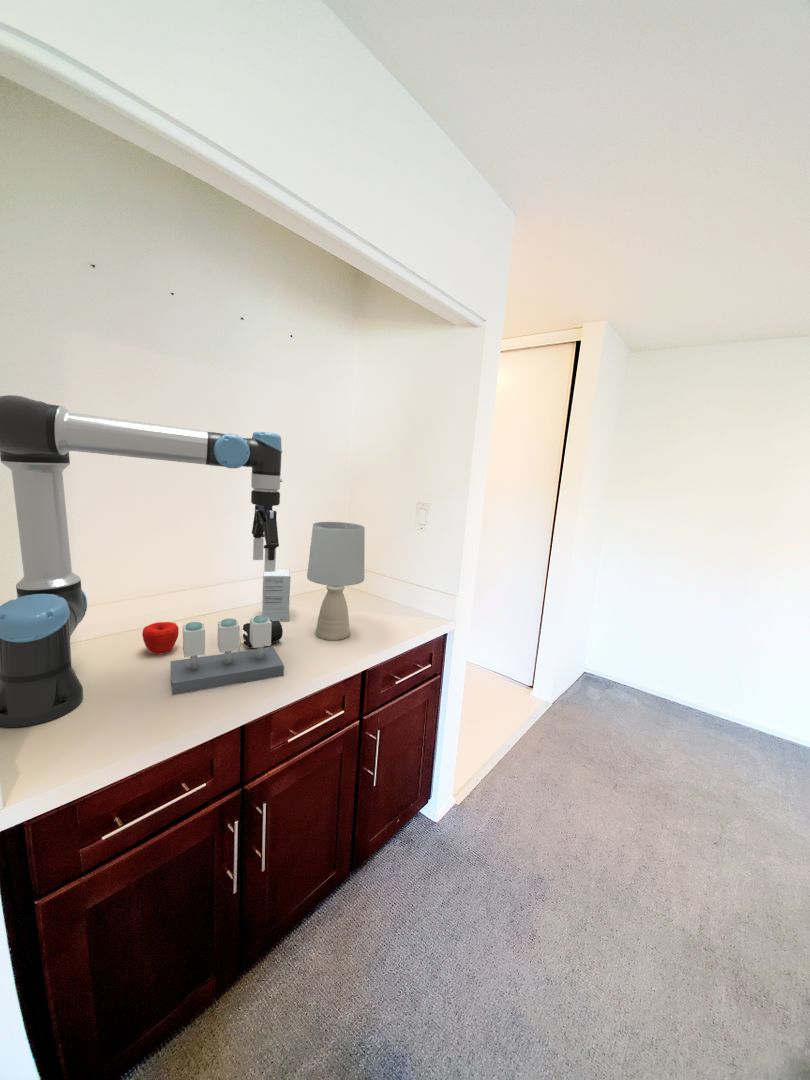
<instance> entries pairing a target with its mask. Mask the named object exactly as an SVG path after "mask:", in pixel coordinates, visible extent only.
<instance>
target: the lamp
mask: <svg viewBox="0 0 810 1080" xmlns="http://www.w3.org/2000/svg"><path fill="white" fill-rule="evenodd" d="M365 530H366V529H365V526H364V525H362V524H361V525H360V524H358V523H357V524H356V523H351V522H341V521H318V522H317V521H316V522H315V523H313V524H312V531H311V537H310V546H309V554H308V555H309V556H308V563H307V572H306V573H307V574H306V578H307V580H308V581H310V582H312V583H315V584H317V585H323V586H326V587H325V588H326V590H327V592H326V594H325V596H324V598H323V601H322V602H321V605H320V609H319V615H318V617H317V622H316V623H317V624H316V629H315V634H316V636H317V637H318V638H320V639H322V640H325V641H341V640H343V639H346V638H348V637H349V636H350V620H349V619H350V618H349V609H348V605H347V601H346V596H345V594H344V589H346V588H345V587H348V586H349V587H350V586H355V585H359V584H361V583H363V582H364V581H365V554H366V553H365Z"/></svg>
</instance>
